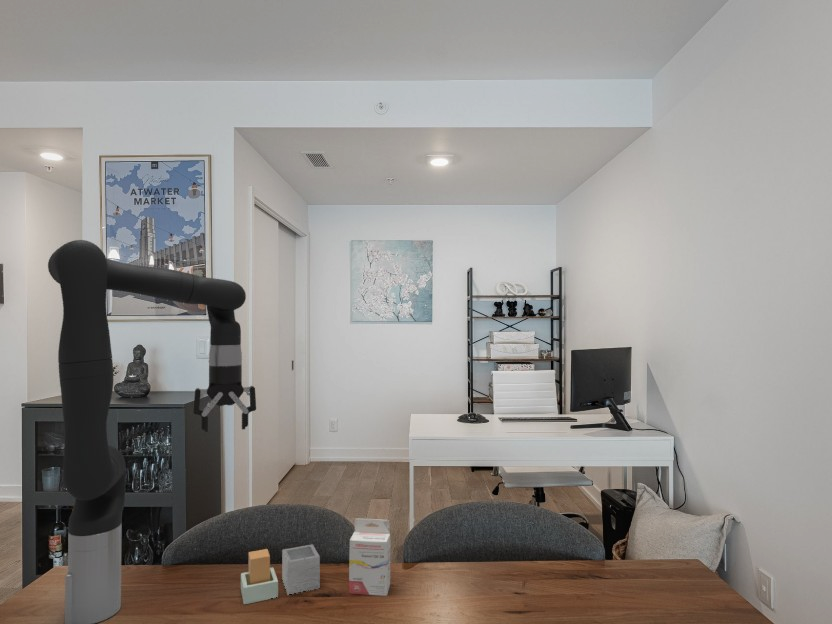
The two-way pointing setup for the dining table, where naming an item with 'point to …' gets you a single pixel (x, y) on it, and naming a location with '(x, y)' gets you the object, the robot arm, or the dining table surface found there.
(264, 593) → the lower socket
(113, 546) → the robot arm
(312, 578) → the upper socket
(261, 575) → the plug
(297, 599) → the dining table surface
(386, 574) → the ink cartridge box
